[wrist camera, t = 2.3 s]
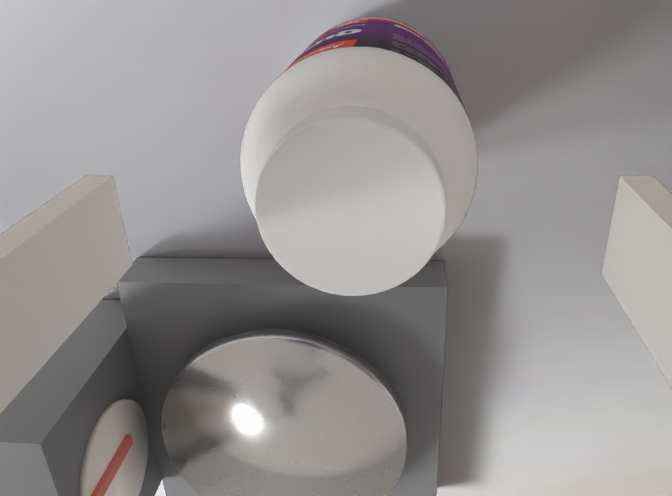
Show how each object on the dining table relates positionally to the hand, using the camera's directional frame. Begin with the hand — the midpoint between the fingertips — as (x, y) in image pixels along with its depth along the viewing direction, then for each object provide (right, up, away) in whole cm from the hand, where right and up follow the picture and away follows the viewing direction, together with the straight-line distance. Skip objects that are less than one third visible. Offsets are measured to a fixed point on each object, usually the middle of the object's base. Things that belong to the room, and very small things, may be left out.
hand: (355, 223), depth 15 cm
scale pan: (-3, -11, +20) cm, 23 cm away
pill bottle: (+1, +7, +14) cm, 16 cm away
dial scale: (-5, -9, +23) cm, 25 cm away
